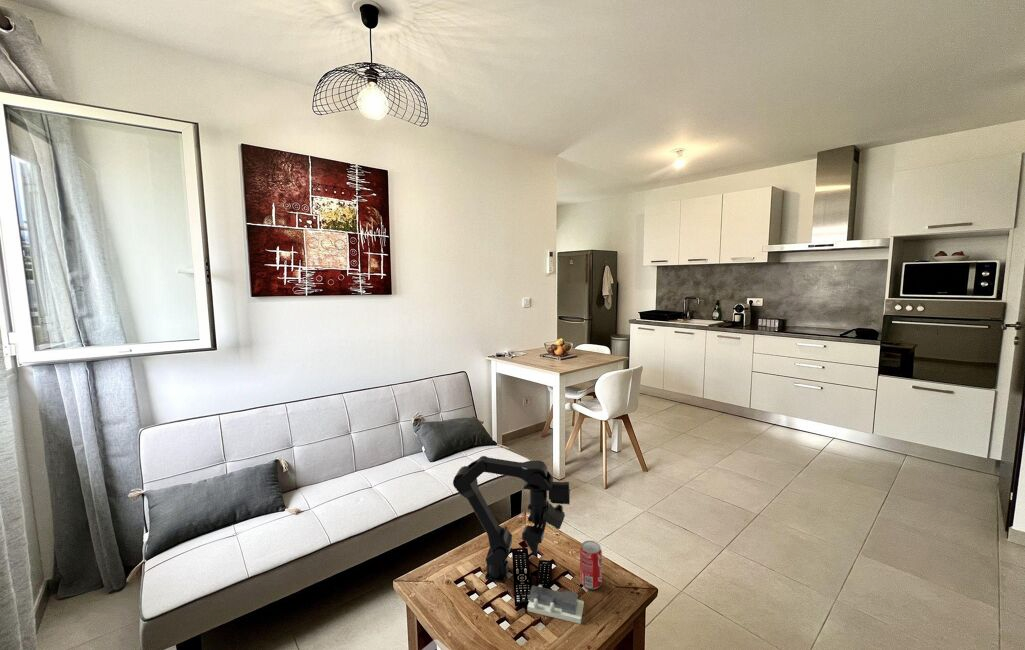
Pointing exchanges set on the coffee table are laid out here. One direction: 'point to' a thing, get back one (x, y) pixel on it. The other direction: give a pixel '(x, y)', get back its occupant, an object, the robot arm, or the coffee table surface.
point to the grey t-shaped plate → (555, 598)
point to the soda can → (591, 565)
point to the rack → (556, 610)
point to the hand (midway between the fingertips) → (538, 545)
